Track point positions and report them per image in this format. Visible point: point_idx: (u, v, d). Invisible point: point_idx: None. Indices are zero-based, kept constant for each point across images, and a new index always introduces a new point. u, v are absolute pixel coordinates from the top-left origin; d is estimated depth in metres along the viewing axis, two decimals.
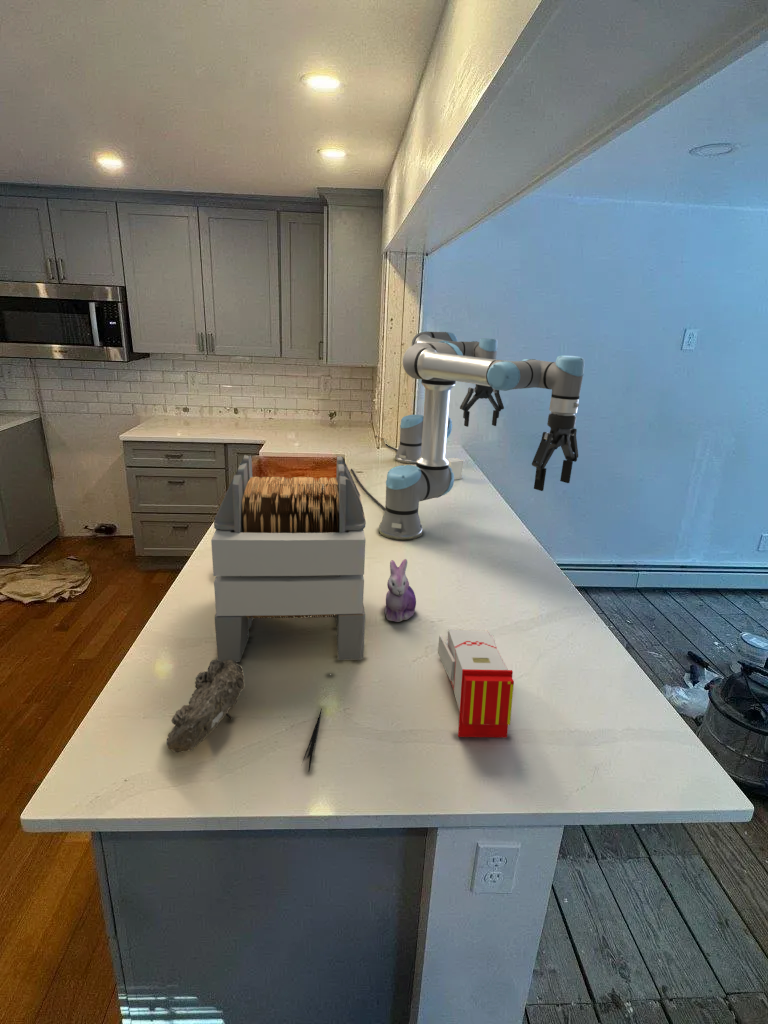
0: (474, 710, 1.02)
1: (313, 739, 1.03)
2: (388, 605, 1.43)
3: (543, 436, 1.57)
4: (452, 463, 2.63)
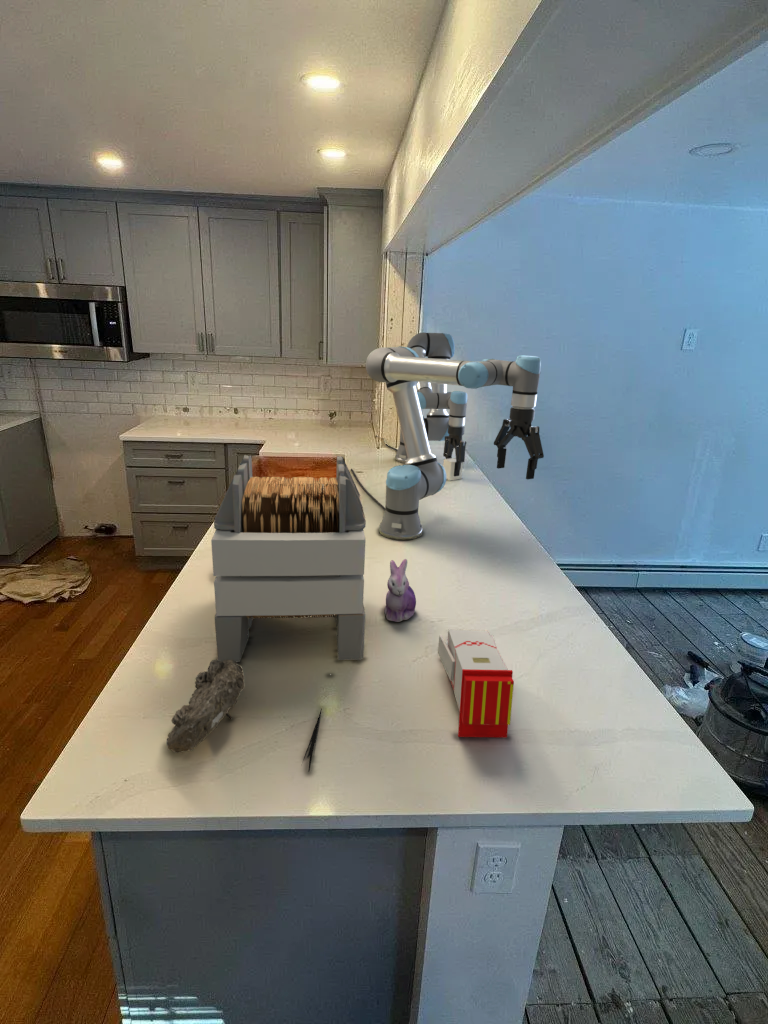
0: (474, 710, 1.02)
1: (313, 739, 1.03)
2: (388, 605, 1.43)
3: (534, 430, 1.72)
4: (452, 463, 2.63)
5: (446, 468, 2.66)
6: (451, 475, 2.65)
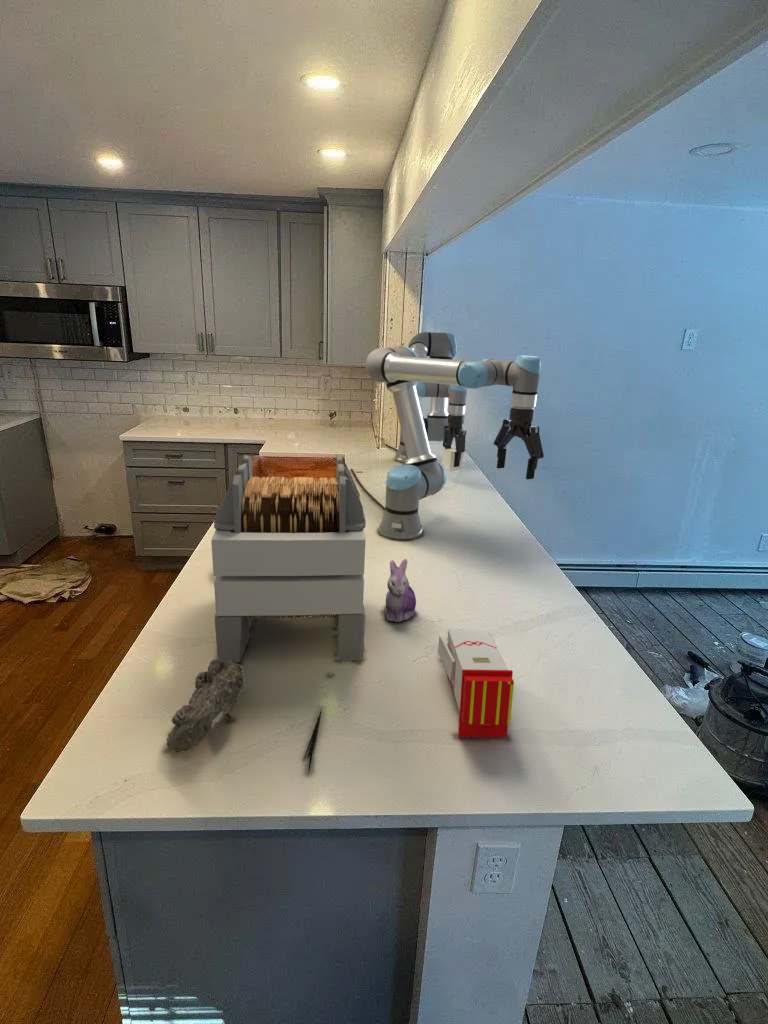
0: (474, 710, 1.02)
1: (313, 739, 1.03)
2: (388, 605, 1.43)
3: (534, 430, 1.72)
4: (452, 453, 2.54)
5: (445, 458, 2.58)
6: (451, 466, 2.56)
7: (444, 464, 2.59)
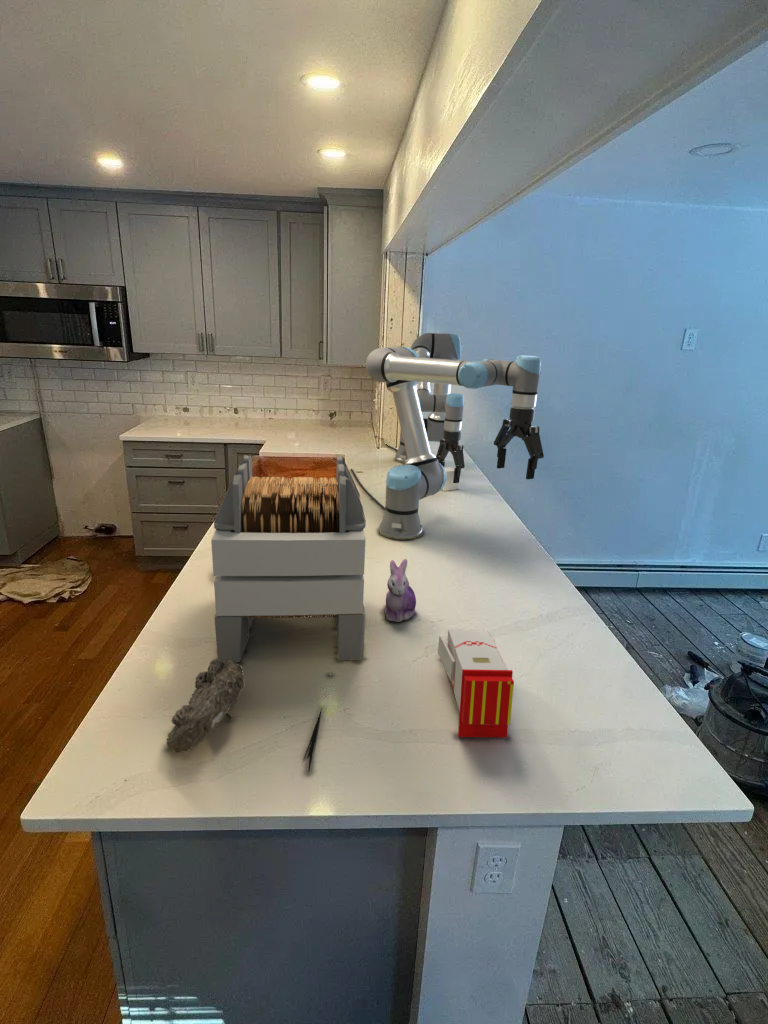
0: (474, 710, 1.02)
1: (313, 739, 1.03)
2: (388, 605, 1.43)
3: (534, 430, 1.72)
4: (448, 473, 2.47)
5: None
6: (447, 485, 2.49)
7: None
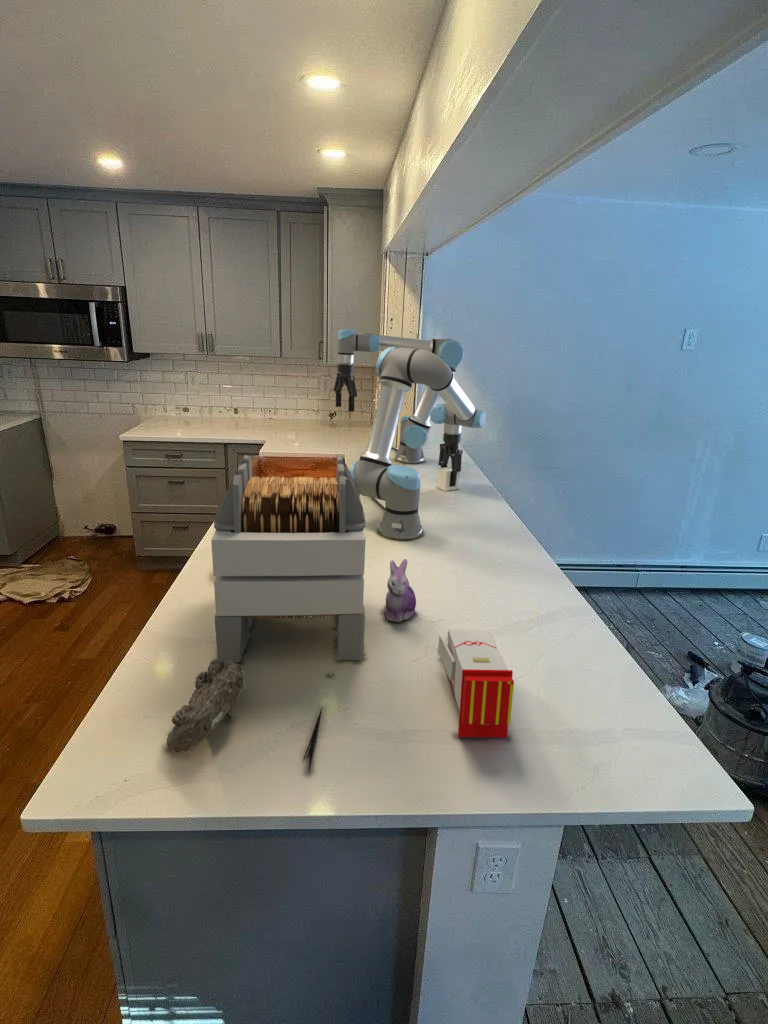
0: (474, 710, 1.02)
1: (313, 739, 1.03)
2: (388, 605, 1.43)
3: (458, 453, 2.42)
4: (448, 473, 2.47)
5: (441, 478, 2.51)
6: (447, 485, 2.49)
7: (440, 483, 2.52)
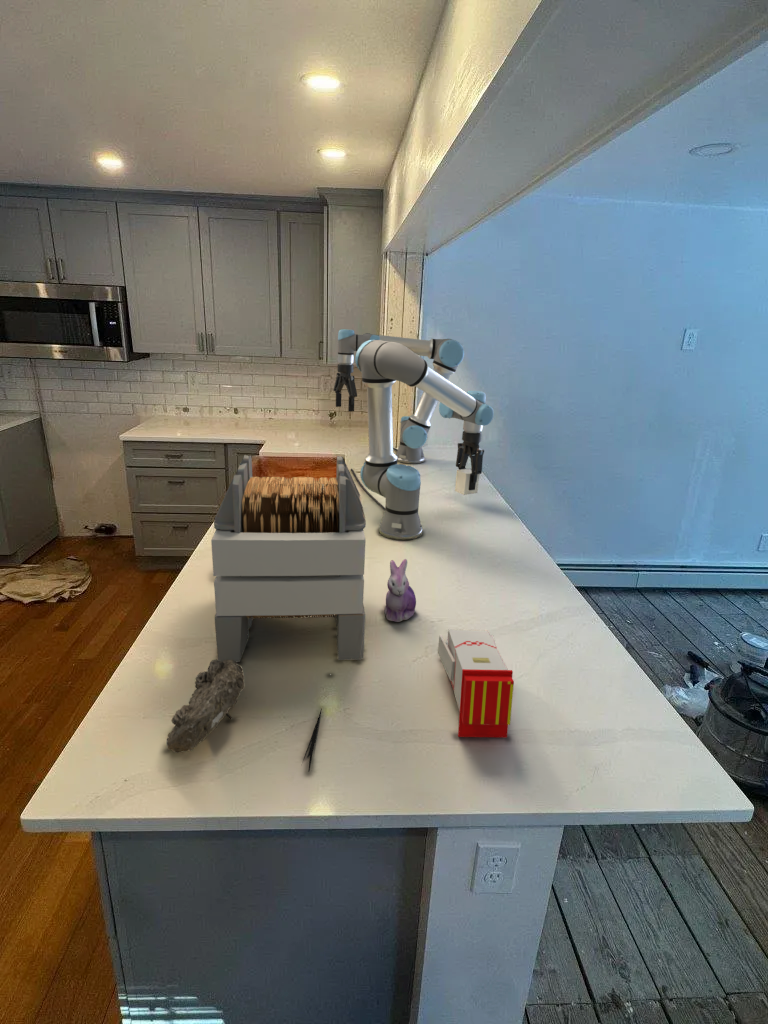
0: (474, 710, 1.02)
1: (313, 739, 1.03)
2: (388, 605, 1.43)
3: (479, 453, 2.20)
4: (467, 475, 2.25)
5: (459, 480, 2.28)
6: (466, 489, 2.26)
7: (458, 487, 2.29)
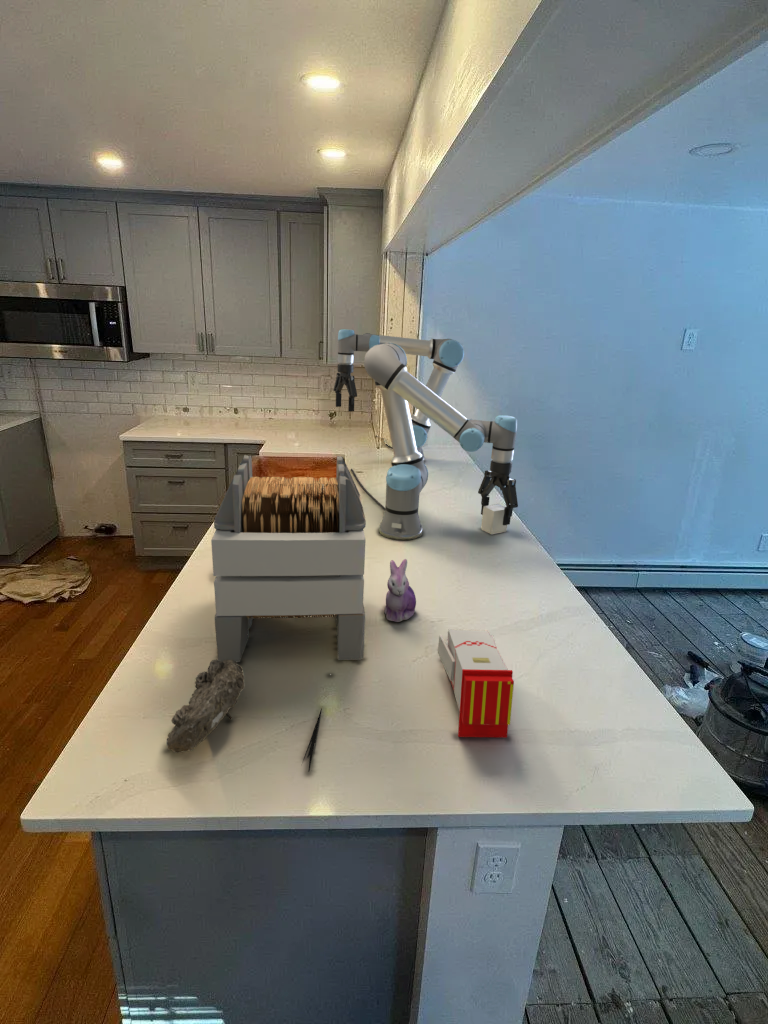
0: (474, 710, 1.02)
1: (313, 739, 1.03)
2: (388, 605, 1.43)
3: (511, 483, 1.94)
4: (495, 513, 2.01)
5: (487, 518, 2.04)
6: (493, 528, 2.03)
7: (484, 525, 2.06)
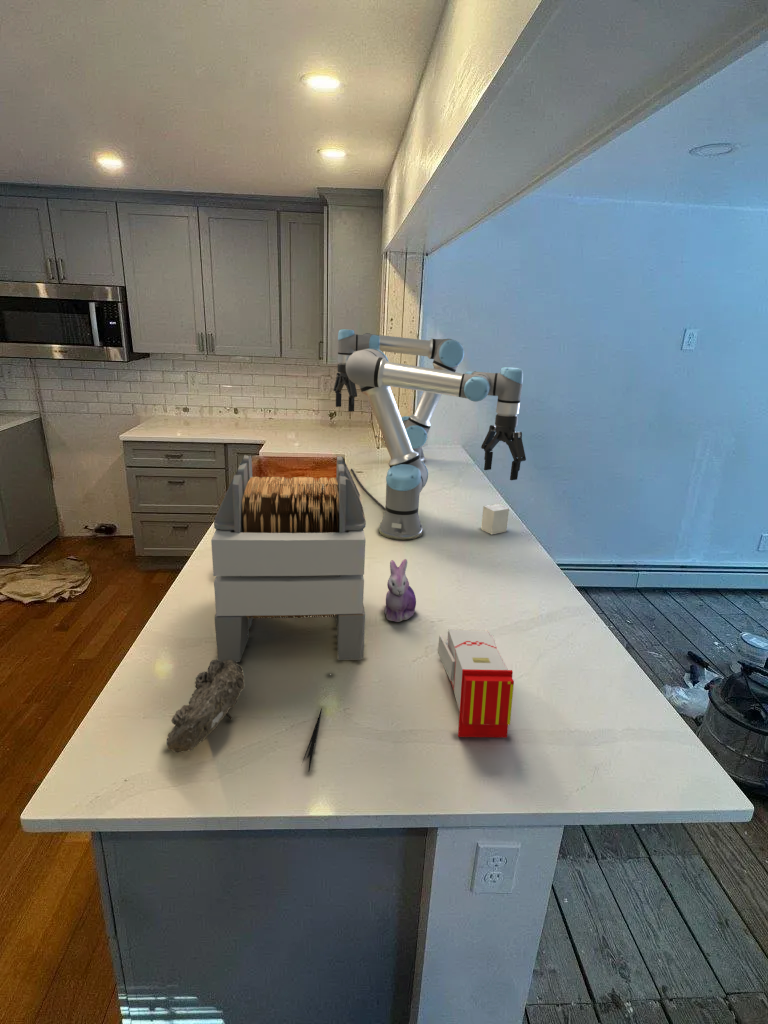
0: (474, 710, 1.02)
1: (313, 739, 1.03)
2: (388, 605, 1.43)
3: (517, 436, 1.89)
4: (495, 512, 2.01)
5: (487, 518, 2.04)
6: (493, 528, 2.03)
7: (484, 525, 2.05)
